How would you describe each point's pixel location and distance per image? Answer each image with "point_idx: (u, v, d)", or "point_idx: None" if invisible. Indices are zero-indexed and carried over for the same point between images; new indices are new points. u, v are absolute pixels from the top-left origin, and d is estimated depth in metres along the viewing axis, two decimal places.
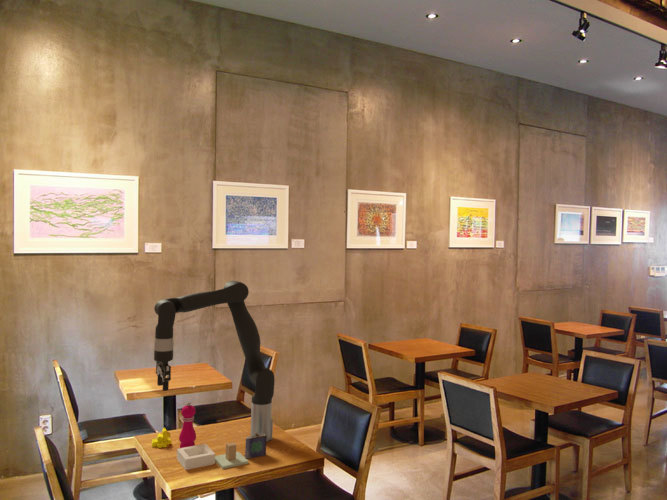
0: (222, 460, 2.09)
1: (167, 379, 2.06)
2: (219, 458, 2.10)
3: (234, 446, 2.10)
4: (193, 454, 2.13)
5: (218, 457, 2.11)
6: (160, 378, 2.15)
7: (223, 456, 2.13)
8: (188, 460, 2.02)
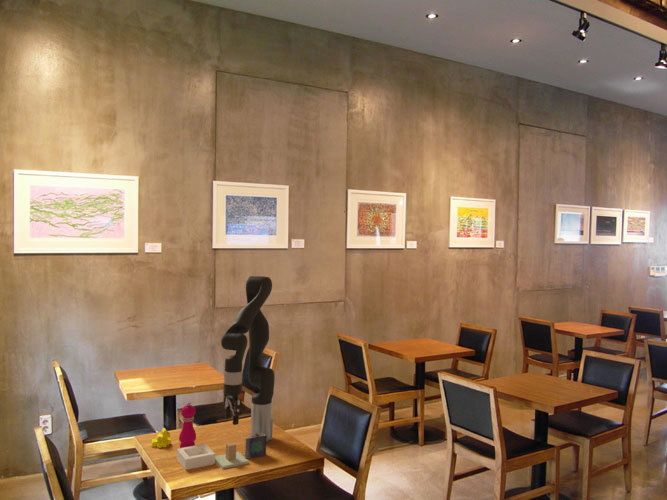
0: (222, 460, 2.09)
1: (238, 413, 2.05)
2: (219, 458, 2.10)
3: (234, 446, 2.10)
4: (193, 454, 2.13)
5: (218, 457, 2.11)
6: (228, 411, 2.14)
7: (223, 456, 2.13)
8: (188, 460, 2.02)
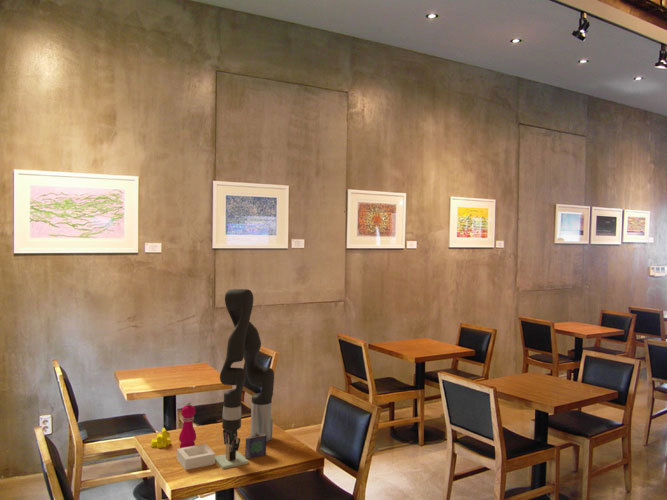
0: (222, 460, 2.09)
1: (235, 449, 2.07)
2: (219, 458, 2.10)
3: None
4: (193, 454, 2.13)
5: (218, 457, 2.11)
6: None
7: (223, 456, 2.13)
8: (188, 460, 2.02)
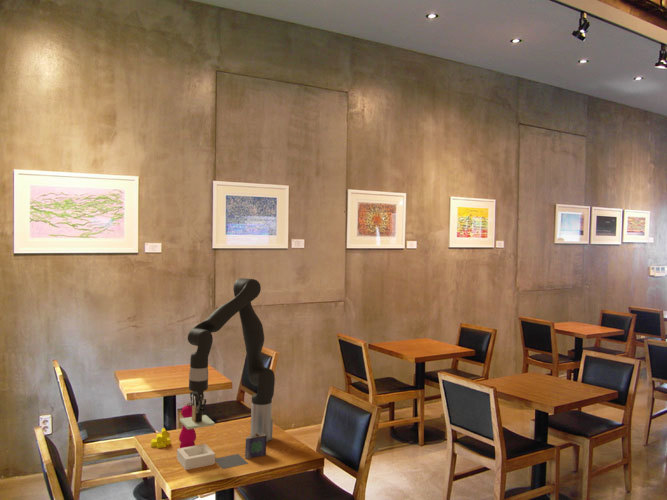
0: (188, 422, 2.07)
1: (201, 410, 2.05)
2: (185, 420, 2.08)
3: (200, 408, 2.08)
4: (193, 454, 2.13)
5: (184, 419, 2.10)
6: None
7: (190, 418, 2.11)
8: (188, 460, 2.02)
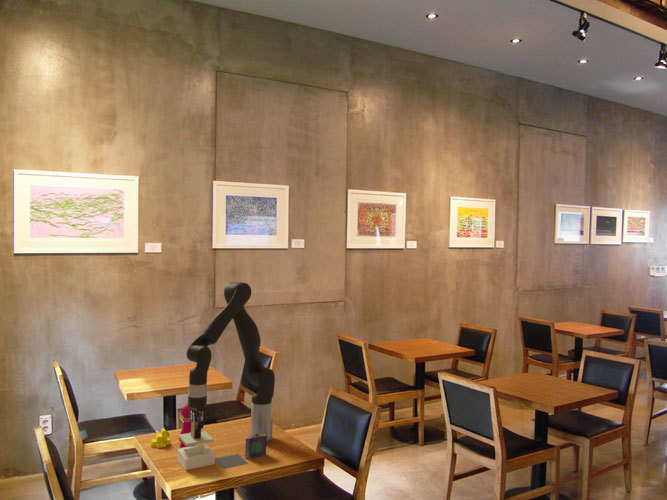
0: (187, 438, 2.07)
1: (200, 427, 2.06)
2: (184, 437, 2.09)
3: None
4: (193, 454, 2.13)
5: (183, 435, 2.10)
6: None
7: (189, 434, 2.11)
8: (188, 460, 2.02)
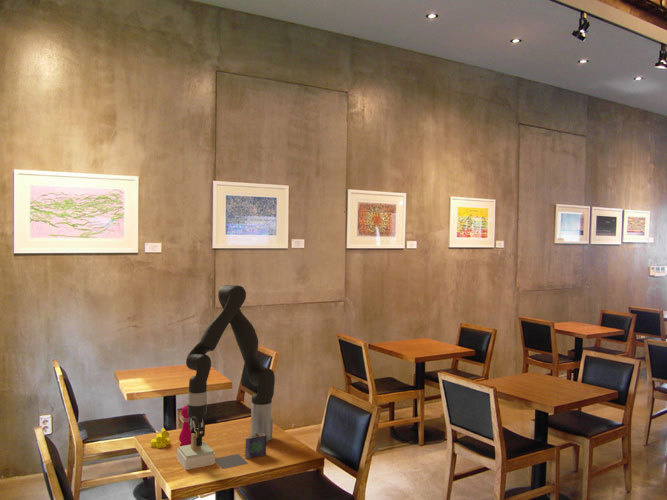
0: (187, 450, 2.07)
1: (201, 435, 2.04)
2: (184, 449, 2.09)
3: None
4: None
5: (183, 447, 2.10)
6: None
7: (189, 446, 2.11)
8: (188, 460, 2.02)
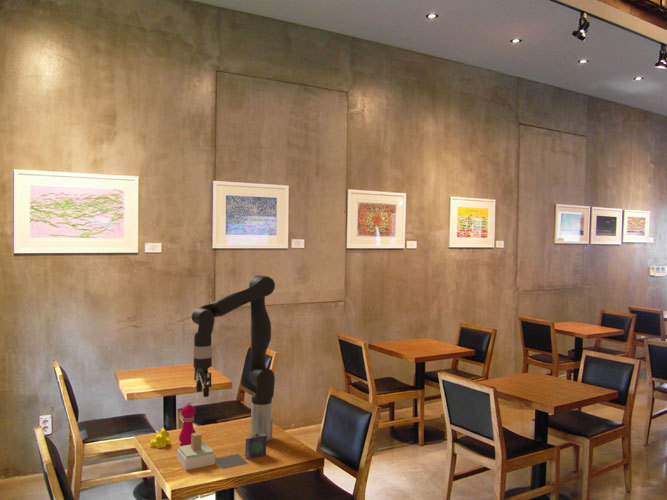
0: (187, 450, 2.07)
1: (208, 386, 2.11)
2: (184, 449, 2.09)
3: (199, 436, 2.08)
4: None
5: (183, 447, 2.10)
6: (199, 384, 2.20)
7: (189, 446, 2.11)
8: (188, 460, 2.02)
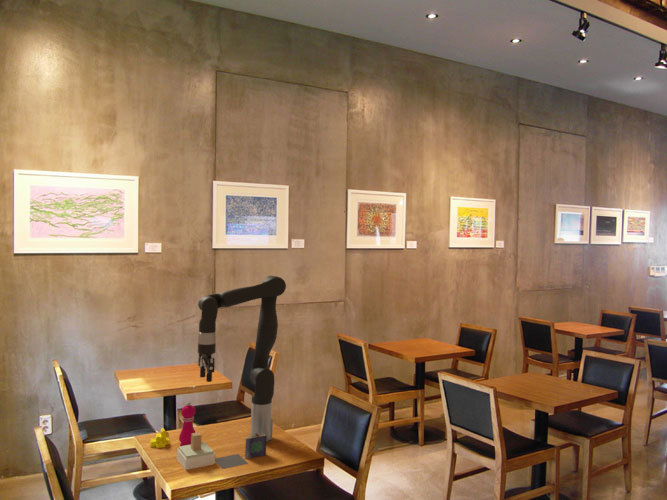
0: (187, 450, 2.07)
1: (211, 371, 2.18)
2: (184, 449, 2.09)
3: (199, 436, 2.08)
4: None
5: (183, 447, 2.10)
6: (203, 370, 2.27)
7: (189, 446, 2.11)
8: (188, 460, 2.02)
